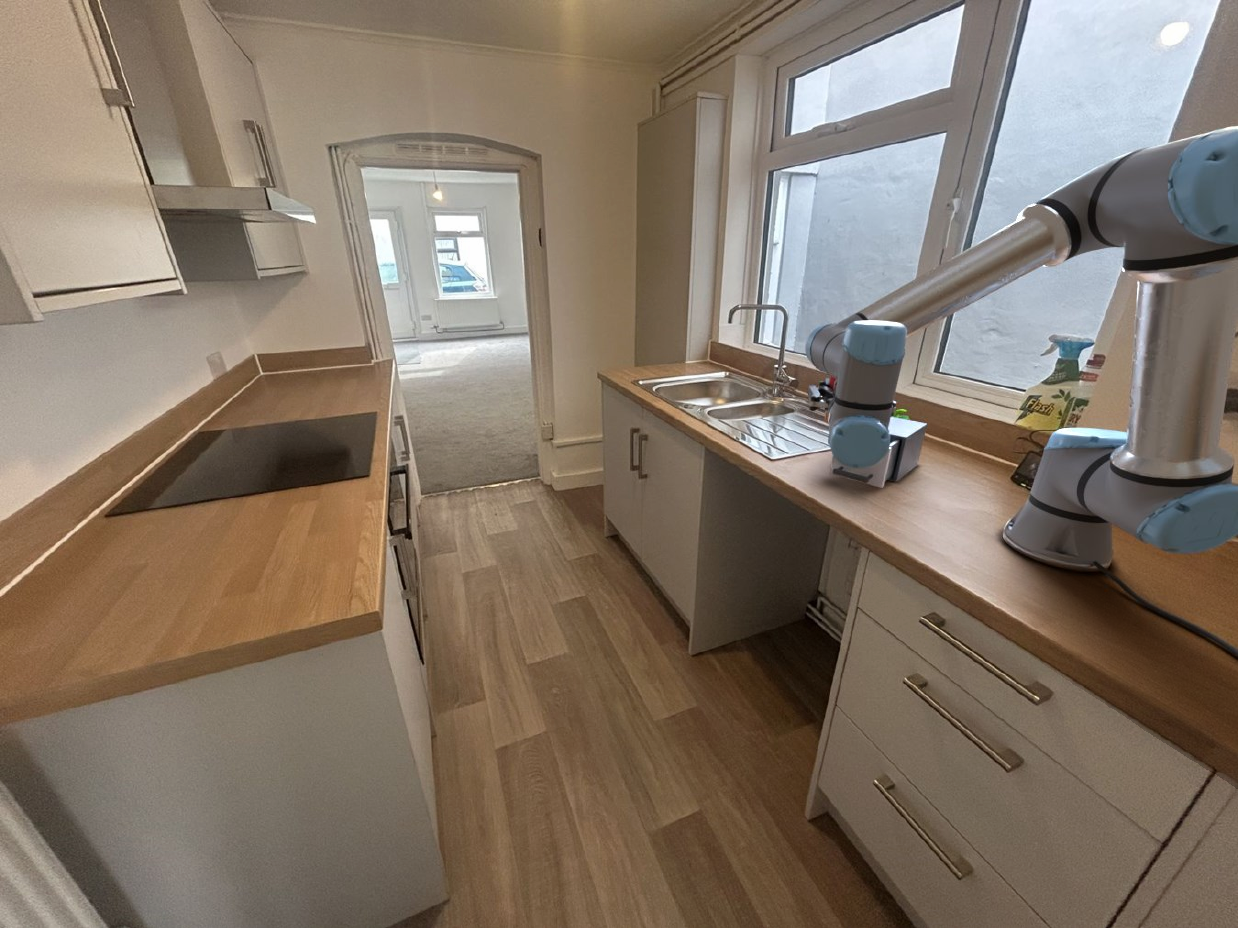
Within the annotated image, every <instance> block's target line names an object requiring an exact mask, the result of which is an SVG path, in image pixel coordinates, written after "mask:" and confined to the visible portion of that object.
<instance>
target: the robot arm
mask: <svg viewBox="0 0 1238 928" xmlns="http://www.w3.org/2000/svg"><path fill="white" fill-rule="evenodd" d="M1111 248H1123V252H1122V272H1123V273H1125V274H1127V275H1128V276H1130V277H1131V278H1134V279H1135V280H1136V281H1137V291H1136V292H1137V295H1136V307H1135V319H1134V330H1133V331H1134V332H1133V346H1132V347H1133V348H1132V358H1131V359H1132V360H1131V371H1130V372H1131V373H1130V386H1129V397H1128V398H1129V399H1128V411H1127V422H1126V423H1127V425H1126V431H1118V430H1112V429H1102V428H1090V427H1064V428H1059V429H1057V430H1056V431H1054V432H1052V433H1051V435H1050V437H1049V439H1048V442H1047V444H1046V446H1045V447H1044V448H1043V452H1042V456H1041V457H1040V458H1041V459H1040V462H1039V465H1038V468H1037V471H1036V474H1035V477H1034V480H1033V483H1032V486H1031V489H1030V492H1029V495H1028V498H1027V500H1026V502H1025V503H1024V505H1023V506H1021V508H1020V509H1019V510H1018V511H1016V512H1017V513H1015V514H1014V516H1013V517H1010V518H1009V519H1008V521H1006V523H1005V525H1004V527H1003V533H1002V538H1003V540H1004V541H1005V543H1006V544H1007V545H1008V546H1009V547H1010V548H1012V549H1013V550H1015V551H1017V553H1020V554H1021V555H1023V556H1026V557H1028V558H1030V559H1033V560H1035V561H1037V562H1040V563H1043V564H1046V565H1049V566H1053V567H1056V568H1060V569H1065V570H1069V571H1077V572H1085V573H1086V572H1091V573H1093V572H1102V573H1103V574H1104V575H1106V576H1107V577H1108V578H1109V579H1111V580H1112V581H1113V582H1115V584H1117V585H1118V586H1119V587H1120V588H1121V589H1122V590H1123V591H1125V593H1127V594H1128V595H1129V596H1131V597H1132V598H1133V599H1135V600H1136V601H1137V602H1138V603H1140V604H1142V605H1143V606H1145V607H1147V608H1149V609H1150V610H1153V611H1154V612H1156V613H1158V614H1160V615H1162V616H1164V617H1165V618H1167V619H1170V620H1173V621H1175V622H1177V623H1179V624H1181V625H1183V626H1185V627H1187V628H1189V629H1191V630H1193V631H1196V632H1197V633H1200V634H1201V635H1203V636H1205V637H1206V638H1208V639H1210V640H1211V641H1213V642H1215V643H1216V644H1218V645H1220V646H1221V647H1223V648H1224V649H1226V650H1227V651H1229V652H1230V653H1232V654H1233V655H1235V656H1236V657H1238V649H1237V648H1236V647H1234V646H1233V645H1231V644H1230V643H1228V642H1227V641H1225V640H1223V639H1222V638H1220V637H1218V636H1216V635H1215V634H1213V633H1211V632H1210V631H1208V630H1206V629H1204V628H1203V627H1201V626H1198V625H1197V624H1194V623H1192V622H1190V621H1188V620H1186V619H1184V618H1182V617H1179V616H1177V615H1175V614H1173V613H1171V612H1169V611H1167V610H1165V609H1162V608H1160V607H1159V606H1157V605H1155V604H1153V603H1151V602H1150V601H1148V600H1147V599H1145V598H1143V597H1141V596H1140V595H1139V594H1137V593H1136V592H1135V591H1134V590H1132V588H1130V586H1128V585H1127V584H1126V583H1125V582H1124V581H1122V580H1121V579H1120V578H1118V577H1117V576H1116V575H1114V573H1112V572H1111V571H1109V569H1108V568H1109V567H1110V565H1111V563H1112V562H1113V558H1114V549H1113V548H1114V547H1113V545H1114V544H1113V543H1114V541H1113V526H1115V527H1116V528H1119V529H1120V530H1122V531H1124V532H1125V533H1127V534H1128V535H1131V536H1132V537H1134V538H1136V539H1137V540H1139V541H1140V542H1141V543H1144V544H1147V545H1150V546H1152V547H1155V548H1157V549H1158V550H1161V551H1163V552H1166V553H1171V554H1174V555H1175V554H1176V555H1191V554H1197V553H1198V554H1199V553H1203V552H1206V551H1209V550H1212V549H1215V548H1217V547H1220V546H1222V545H1223V544H1226V543H1228V542H1229V541H1230V540H1232V539H1233V538H1235V537H1237V536H1238V484H1236V483H1233V474H1234V468H1235V458H1234V456H1233V455H1232V453H1230V452H1229V451H1227V450H1225V449H1223V448H1222V447H1220V440H1221V433H1222V426H1223V419H1224V414H1225V413H1224V412H1225V405H1226V399H1227V393H1228V388H1229V387H1228V385H1229V380H1230V372H1231V366H1232V359H1233V353H1234V347H1235V339H1236V332H1237V325H1238V126H1235V125H1233V126H1227V127H1225V128H1219V129H1218V128H1217V129H1215V130H1213V131H1208V132H1205V133H1201V134H1197V135H1194V136H1190V137H1186V138H1182V139H1179V140H1175V141H1170V142H1167V143H1163V144H1159V145H1155V146H1150V147H1144V148H1140V149H1135V150H1133V151H1129V152H1126V153H1124V154H1121V155H1119V156H1116V157H1114V158H1112V159H1110V160H1107V161H1105V162H1104V163H1101V164H1099V165H1098V166H1096V167H1094V168H1092V169H1091V170H1089V171H1087V172H1085V173H1083V174H1081V175H1080V176H1078V177H1076V178H1075V179H1073V180H1071V181H1069V182H1067V183H1066V184H1064V185H1062V186H1061V187H1059V188H1057V189H1055V190H1053V191H1052V192H1050V193H1049V194H1047V195H1045V196H1043V197H1042V198H1040V199H1038V200H1037V201H1035V202H1033V203H1031V204H1029V205H1028V206H1026V207H1025V208H1024V209H1022V210H1021V211H1020V213H1018V216H1017V218H1016V221H1014V222H1013V223H1010V224H1009V225H1007V226H1005V227H1004V228H1002V229H1000V230H998V231H997V232H995V233H993V234H991V235H989V236H988V237H986V238H985V239H983V240H981V241H979V242H977V243H976V244H974V245H972V246H970V247H968V248H967V249H965V250H964V251H962V252H960V253H958V254H956V255H955V256H953V257H951V258H950V259H948V260H946V261H944V262H943V263H940V264H939V265H938V266H935V267H934V268H932V269H931V270H929V271H927V272H925V273H923V274H921V275H920V276H918V277H916V278H915V279H913V280H911V281H910V282H908V283H906V284H904V285H902V286H901V287H899V288H897V289H896V290H893V291H892V292H890V293H888V294H887V295H885V296H884V297H881V298H880V299H878V300H876V301H874V302H872V303H871V304H869V305H868V306H866V307H864V308H863V309H861V310H859V311H857V312H855V313H854V314H851V315H849V316H848V317H846V318H844V319H842V320H841V321H839V322H837V323H836V322H834V323H833V322H831V323H826V324H822V325H819V326H818V327H816V328H815V329H814V330H812V332H811V333H810V334H809V335H808V337H807V338H806V342H805V349H804V350H805V355H806V358H807V360H808V361H809V363H810V364H812V366H814V368H816V370H818V371H819V372H823V373H825V374H827V375H829V376H830V377H831V376H832V377H834V378H835V379H837V387H836V392H835V391H833V390H832V389H830V388H829V386H830V377H825V378H824V381H823V380H821V381H819V383H818V386H816V385H814V384H811V385H810V384H809V385H808V390H807V391H808V392H807V401H808V403H809V407H808V410H809V411H812V412H814V411H817V410H821V408H822V409H824V411H825V410H826V411H827V412H828V423H829V424H828V423H827V424H828V439H827V445H828V446H829V448H830V452H831V454H832V456H833V455H834V457H835V458H836V459H837V460H838V461H839V462H840V463H842V464H843V465H845V466H848V467H851V468H867V467H871V466H873V465H875V464H877V463H878V462H880V461H881V460H882V459H883V458H884V457H885V456H886V454H887V452H888V450H889V447H890V435H889V430H888V427H889V423H890V418H891V417H893V416H894V413H895V412H896V407H897V401H895V395H896V390H897V387H898V381H899V378H900V375H901V374H900V373H901V369H902V364H903V360H904V358H905V355H906V341H907V339H909V338H911V337H912V336H915V335H916V334H918V333H919V332H922V331H924V330H925V329H927V328H929V327H931V326H933V325H934V324H937V323H939V322H941V321H942V320H944V319H945V318H947V317H949V316H952V315H953V314H955V313H957V312H959V311H961V310H962V309H964V308H967V307H968V306H970V305H972V304H974V303H976V302H977V301H979V300H981V299H983V298H985V297H986V296H988V295H991V294H993V293H994V292H996V291H998V290H1000V289H1002V288H1003V287H1005V286H1007V285H1009V284H1011V283H1013V282H1014V281H1016V280H1018V279H1021V278H1022V277H1024V276H1026V275H1028V274H1029V273H1031V272H1033V271H1035V270H1037V269H1039V268H1040V267H1047V268H1050V267H1051V268H1053V267H1057V266H1059V265H1061V264H1063V263H1065V262H1066V261H1068V260H1070V259H1072V258H1074V257H1077V256H1080V255H1083V254H1086V253H1090V252H1094V251H1099V250H1100V251H1101V250H1104V249H1111Z"/></svg>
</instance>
